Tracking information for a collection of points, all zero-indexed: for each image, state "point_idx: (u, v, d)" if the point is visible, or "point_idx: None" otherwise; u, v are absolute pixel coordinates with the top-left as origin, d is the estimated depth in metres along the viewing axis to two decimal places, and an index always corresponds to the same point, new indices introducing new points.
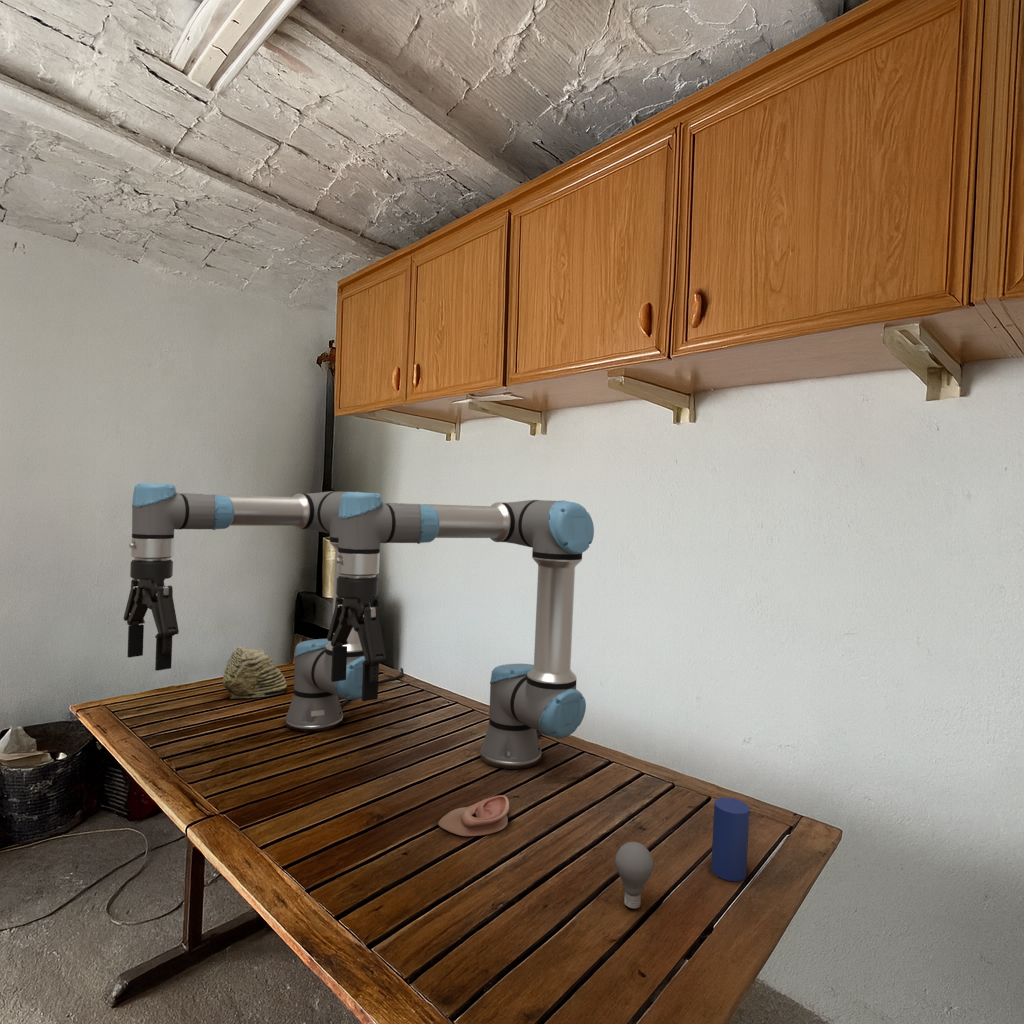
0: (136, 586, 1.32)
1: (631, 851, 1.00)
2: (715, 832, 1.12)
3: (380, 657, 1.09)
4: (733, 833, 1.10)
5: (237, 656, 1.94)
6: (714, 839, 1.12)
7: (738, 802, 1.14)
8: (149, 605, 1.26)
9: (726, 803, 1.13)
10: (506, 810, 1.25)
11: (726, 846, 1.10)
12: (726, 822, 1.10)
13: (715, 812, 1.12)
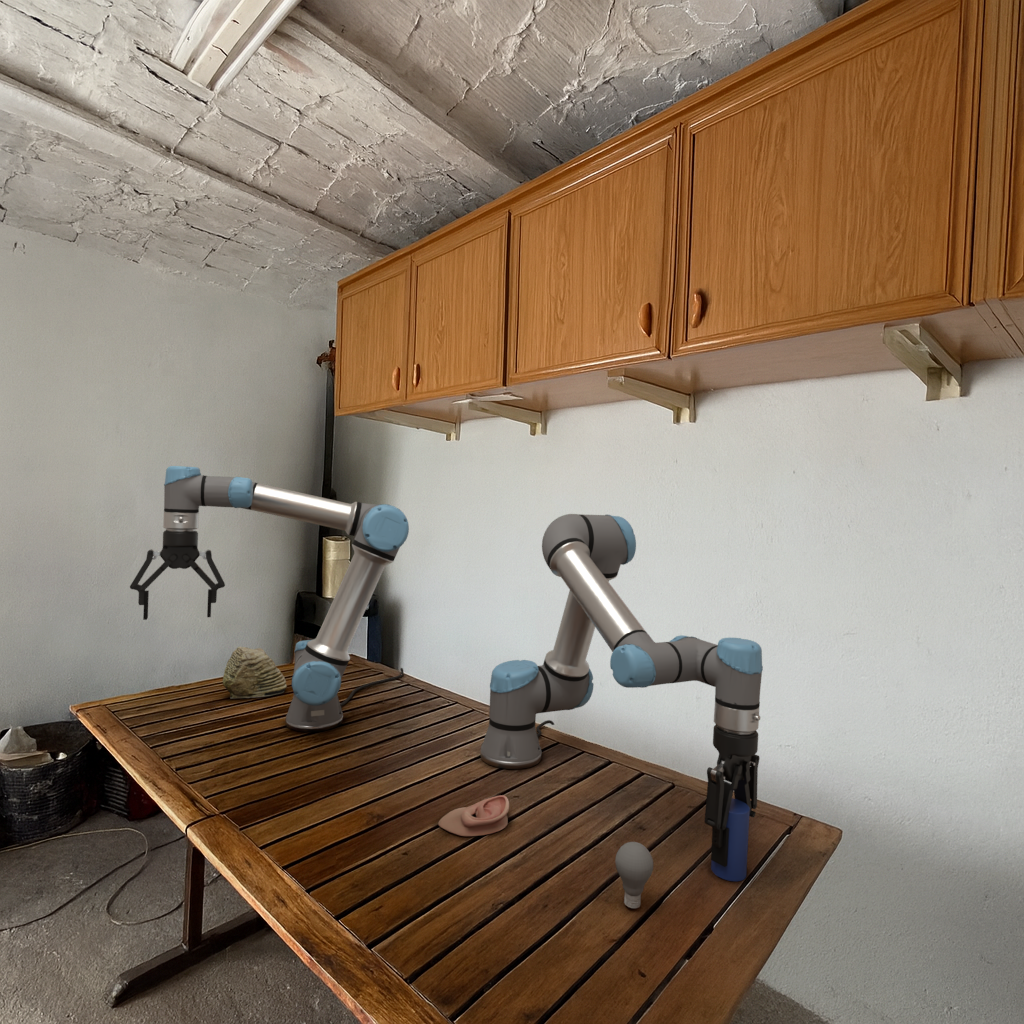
0: (154, 556, 1.50)
1: (631, 851, 1.00)
2: None
3: None
4: (733, 833, 1.10)
5: (237, 656, 1.94)
6: None
7: (738, 802, 1.14)
8: (195, 567, 1.53)
9: None
10: (506, 810, 1.25)
11: None
12: (727, 822, 1.10)
13: None
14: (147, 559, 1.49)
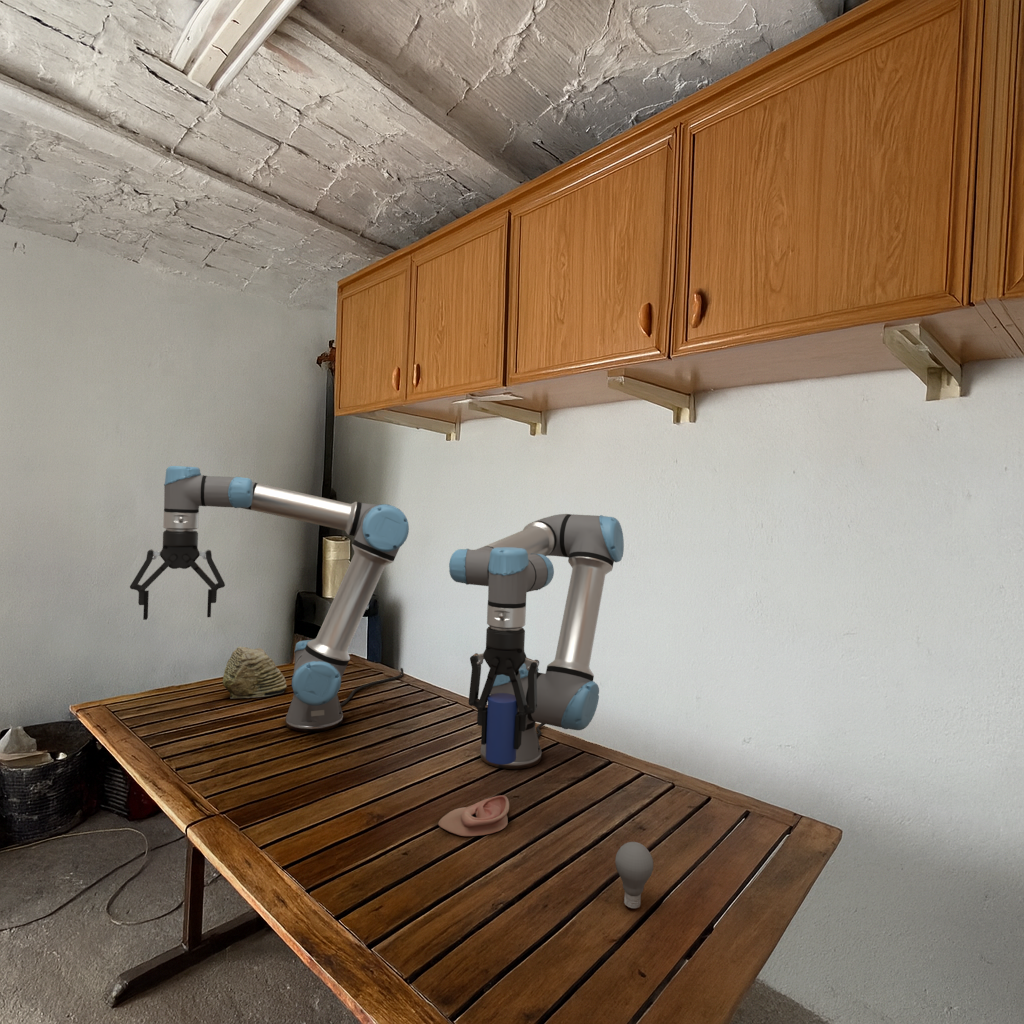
0: (154, 556, 1.50)
1: (631, 851, 1.00)
2: None
3: (535, 707, 1.22)
4: (488, 717, 1.23)
5: (237, 656, 1.94)
6: None
7: (512, 698, 1.23)
8: (195, 567, 1.53)
9: (503, 696, 1.25)
10: (506, 810, 1.25)
11: None
12: None
13: None
14: (147, 559, 1.49)
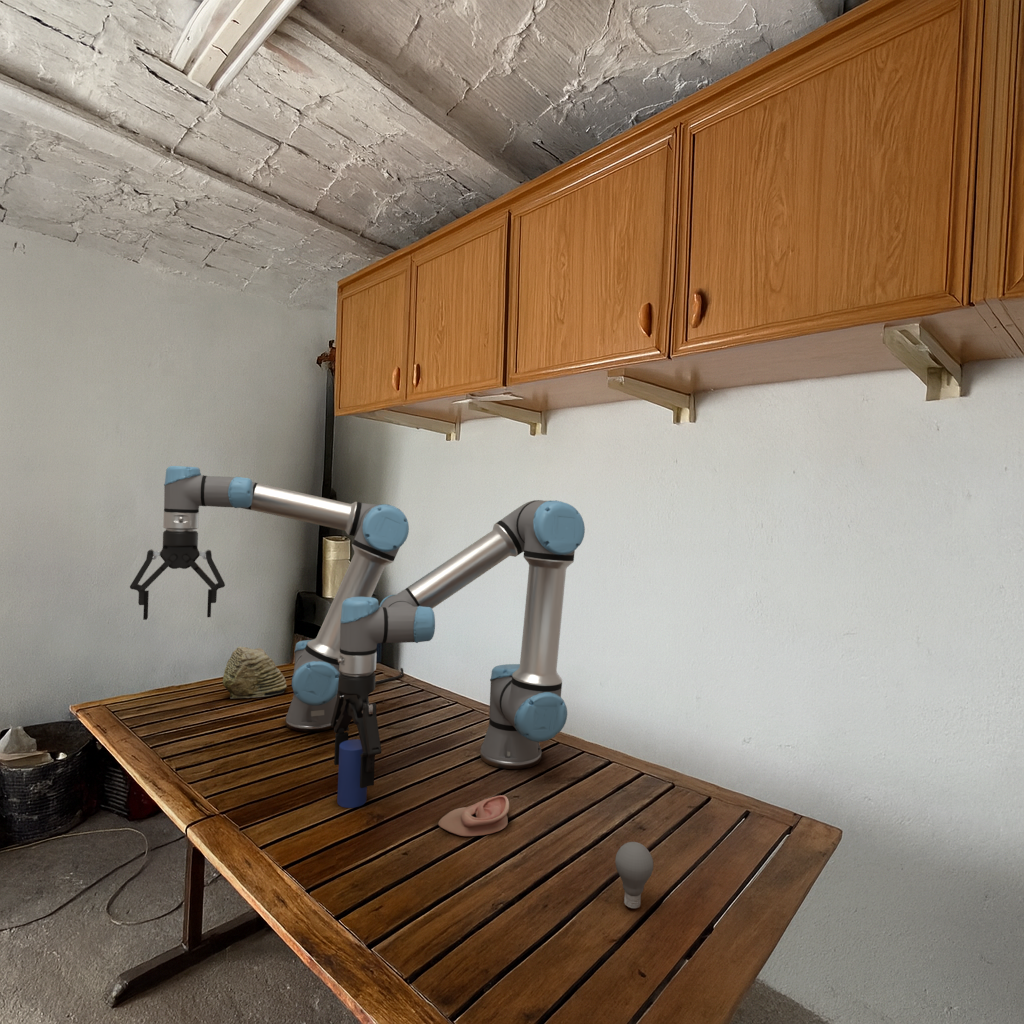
0: (154, 556, 1.50)
1: (631, 851, 1.00)
2: None
3: (376, 750, 1.25)
4: None
5: (237, 656, 1.94)
6: None
7: (357, 747, 1.31)
8: (195, 567, 1.53)
9: (357, 743, 1.33)
10: (506, 810, 1.25)
11: None
12: None
13: None
14: (147, 559, 1.49)
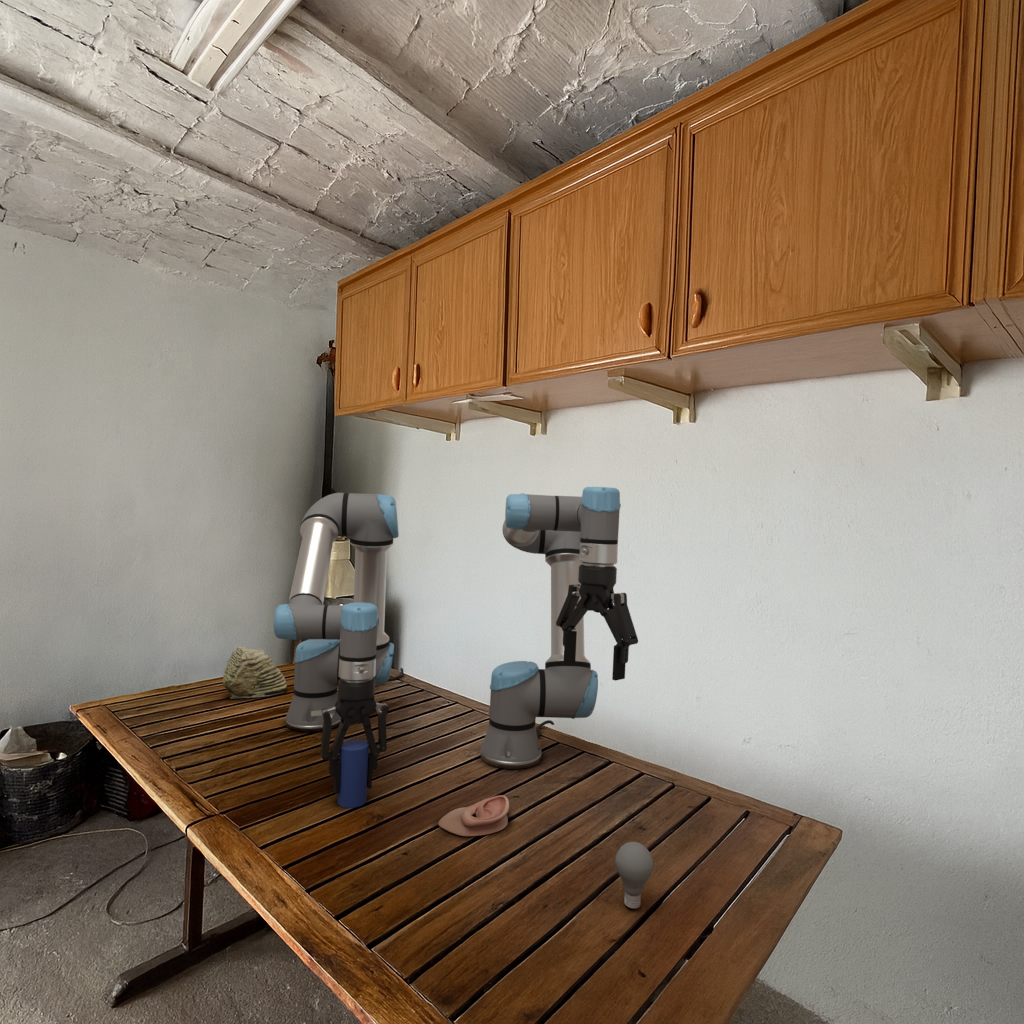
0: (331, 715, 1.29)
1: (631, 851, 1.00)
2: None
3: (633, 639, 1.18)
4: None
5: (237, 656, 1.94)
6: None
7: (357, 747, 1.31)
8: (367, 725, 1.32)
9: (358, 743, 1.33)
10: (506, 810, 1.25)
11: None
12: None
13: None
14: (327, 723, 1.28)
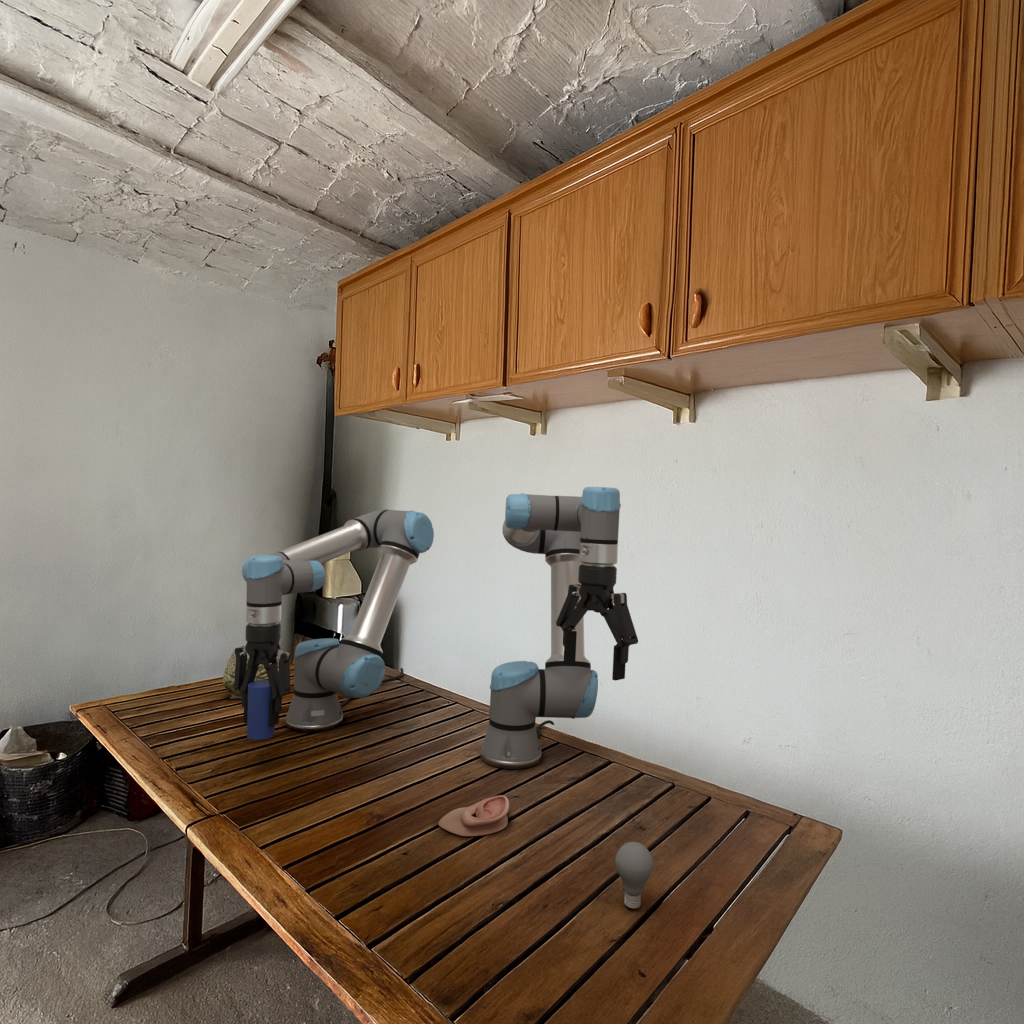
0: (241, 652, 1.46)
1: (631, 851, 1.00)
2: None
3: (633, 639, 1.18)
4: None
5: None
6: None
7: (257, 686, 1.44)
8: (266, 667, 1.43)
9: (266, 683, 1.45)
10: (506, 810, 1.25)
11: None
12: None
13: None
14: (237, 657, 1.46)
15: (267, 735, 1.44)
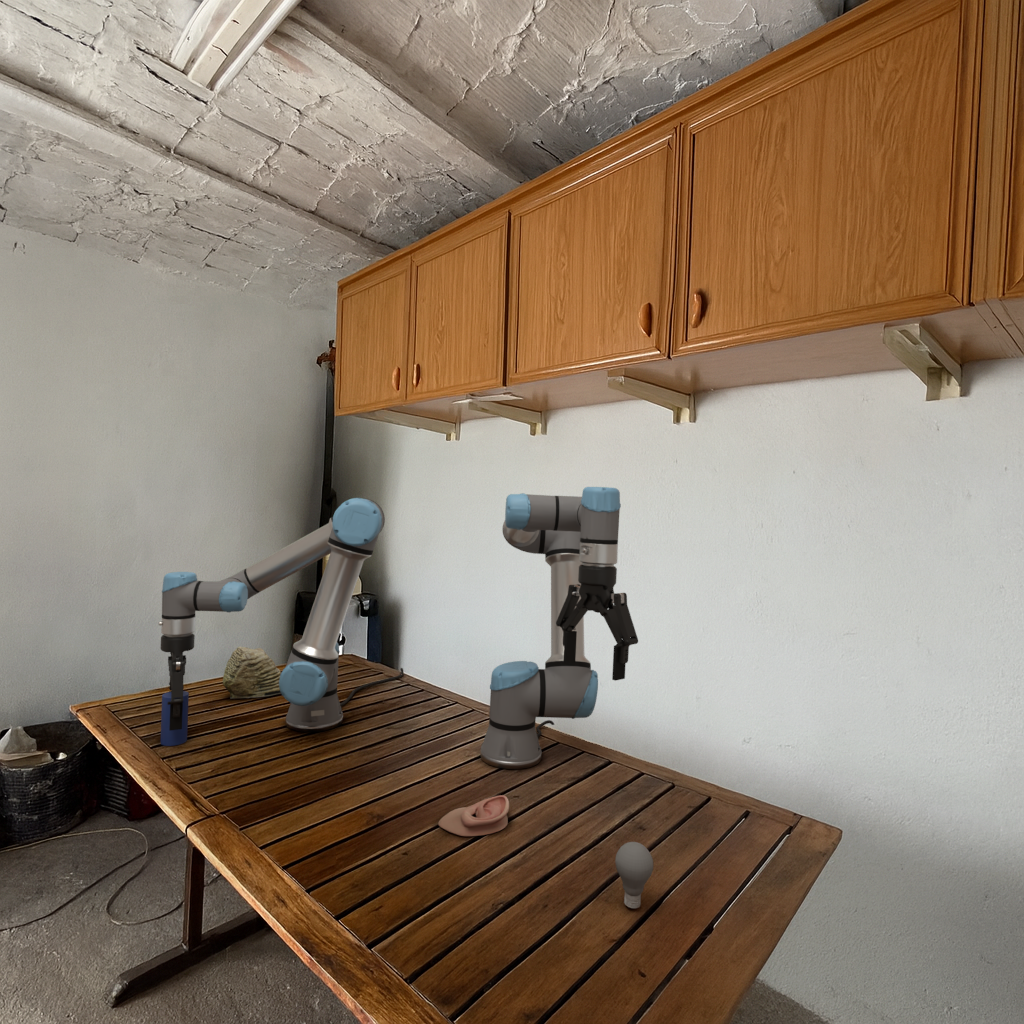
0: None
1: (631, 851, 1.00)
2: (187, 712, 1.60)
3: (633, 639, 1.18)
4: None
5: (237, 656, 1.94)
6: (187, 718, 1.60)
7: (167, 695, 1.58)
8: (169, 674, 1.56)
9: None
10: (506, 810, 1.25)
11: None
12: None
13: (187, 699, 1.59)
14: None
15: (168, 743, 1.56)
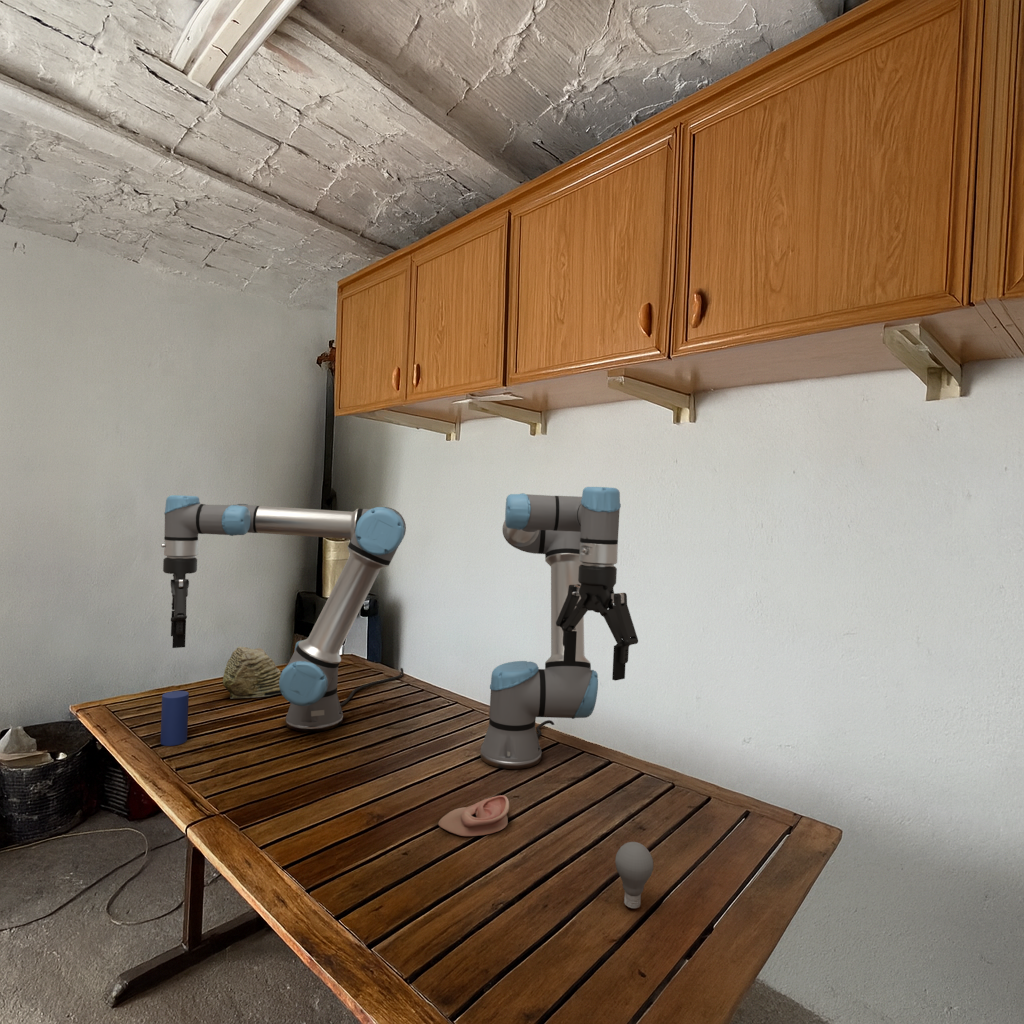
0: None
1: (631, 851, 1.00)
2: (187, 712, 1.60)
3: (633, 639, 1.18)
4: None
5: (237, 656, 1.94)
6: (187, 718, 1.60)
7: (167, 695, 1.58)
8: (172, 595, 1.55)
9: (177, 695, 1.59)
10: (506, 810, 1.25)
11: None
12: None
13: (187, 699, 1.59)
14: None
15: (168, 743, 1.56)
